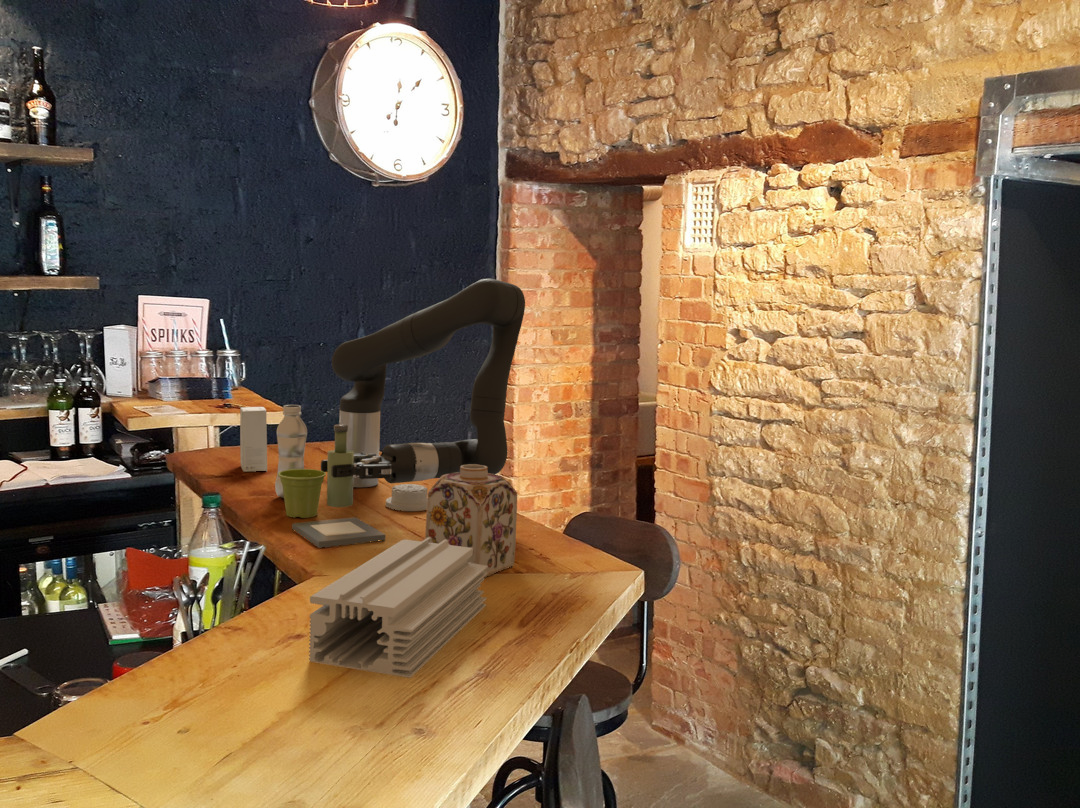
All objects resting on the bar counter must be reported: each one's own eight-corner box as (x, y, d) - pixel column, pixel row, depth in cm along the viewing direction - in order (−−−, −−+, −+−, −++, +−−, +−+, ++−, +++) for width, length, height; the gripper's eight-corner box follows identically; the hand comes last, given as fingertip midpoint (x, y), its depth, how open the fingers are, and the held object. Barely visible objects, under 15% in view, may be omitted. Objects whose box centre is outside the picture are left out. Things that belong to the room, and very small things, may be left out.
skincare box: (267, 472, 250) (268, 410, 248) (241, 472, 248) (242, 410, 246) (264, 465, 258) (265, 405, 256) (239, 465, 256) (239, 405, 254)
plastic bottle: (268, 498, 224) (269, 406, 221) (287, 492, 230) (288, 402, 227) (293, 502, 221) (295, 409, 218) (312, 496, 227) (314, 405, 225)
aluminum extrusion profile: (486, 607, 162) (488, 544, 161) (410, 680, 133) (413, 604, 132) (400, 595, 166) (402, 534, 165) (308, 663, 137) (310, 589, 135)
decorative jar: (477, 582, 174) (481, 476, 171) (422, 568, 180) (425, 465, 177) (516, 566, 184) (521, 465, 181) (463, 553, 190) (467, 456, 187)
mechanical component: (427, 514, 218) (436, 503, 228) (427, 493, 218) (437, 483, 228) (380, 510, 219) (392, 500, 229) (381, 490, 219) (392, 480, 229)
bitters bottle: (323, 502, 198) (323, 424, 196) (346, 500, 200) (348, 423, 198) (332, 508, 194) (333, 428, 192) (356, 505, 196) (358, 426, 194)
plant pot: (268, 513, 211) (268, 471, 210) (307, 507, 218) (308, 466, 217) (294, 523, 205) (295, 480, 204) (334, 516, 212) (335, 474, 210)
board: (292, 529, 200) (292, 522, 200) (355, 523, 207) (355, 516, 207) (318, 548, 188) (318, 541, 188) (385, 540, 196) (385, 534, 195)
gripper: (394, 437, 209) (312, 442, 200) (426, 449, 197) (341, 455, 188) (393, 474, 210) (312, 481, 201) (425, 488, 198) (341, 496, 189)
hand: (327, 468), depth 195 cm, fingers closed on bitters bottle, 4 cm apart
